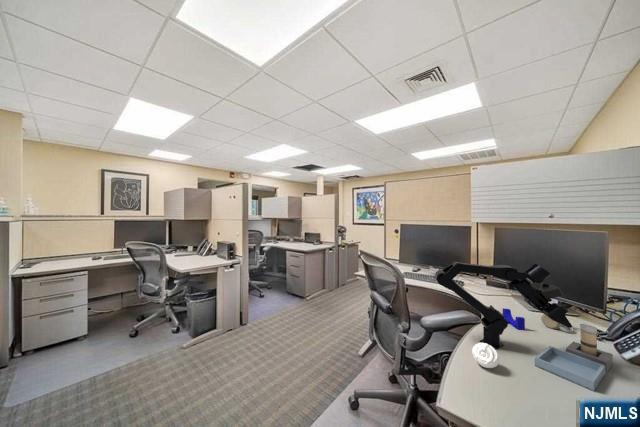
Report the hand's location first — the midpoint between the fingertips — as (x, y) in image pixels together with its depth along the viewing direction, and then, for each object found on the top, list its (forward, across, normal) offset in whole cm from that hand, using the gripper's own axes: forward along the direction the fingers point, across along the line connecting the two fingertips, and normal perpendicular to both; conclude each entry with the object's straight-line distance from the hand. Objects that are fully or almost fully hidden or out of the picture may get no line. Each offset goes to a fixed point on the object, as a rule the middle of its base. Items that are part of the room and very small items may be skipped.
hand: (562, 321), depth 89 cm
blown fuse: (+15, 0, +4) cm, 15 cm away
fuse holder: (+15, 0, +4) cm, 15 cm away
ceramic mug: (+19, +29, +1) cm, 35 cm away
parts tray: (+7, -10, +12) cm, 17 cm away
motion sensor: (-12, -18, +32) cm, 39 cm away
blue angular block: (+5, +26, +15) cm, 30 cm away
